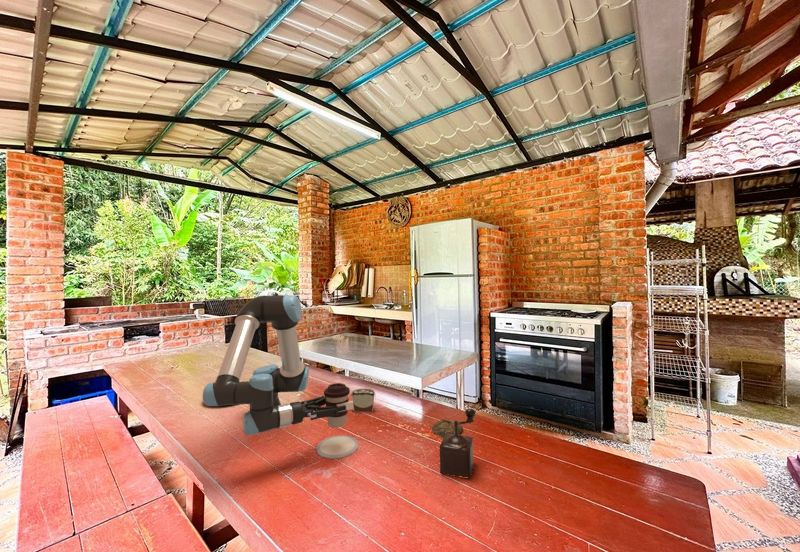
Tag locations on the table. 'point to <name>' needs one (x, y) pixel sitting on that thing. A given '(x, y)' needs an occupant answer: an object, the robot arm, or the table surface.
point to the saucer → (337, 447)
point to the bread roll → (445, 427)
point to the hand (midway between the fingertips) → (347, 400)
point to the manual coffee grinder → (458, 451)
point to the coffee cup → (337, 396)
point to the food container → (363, 400)
